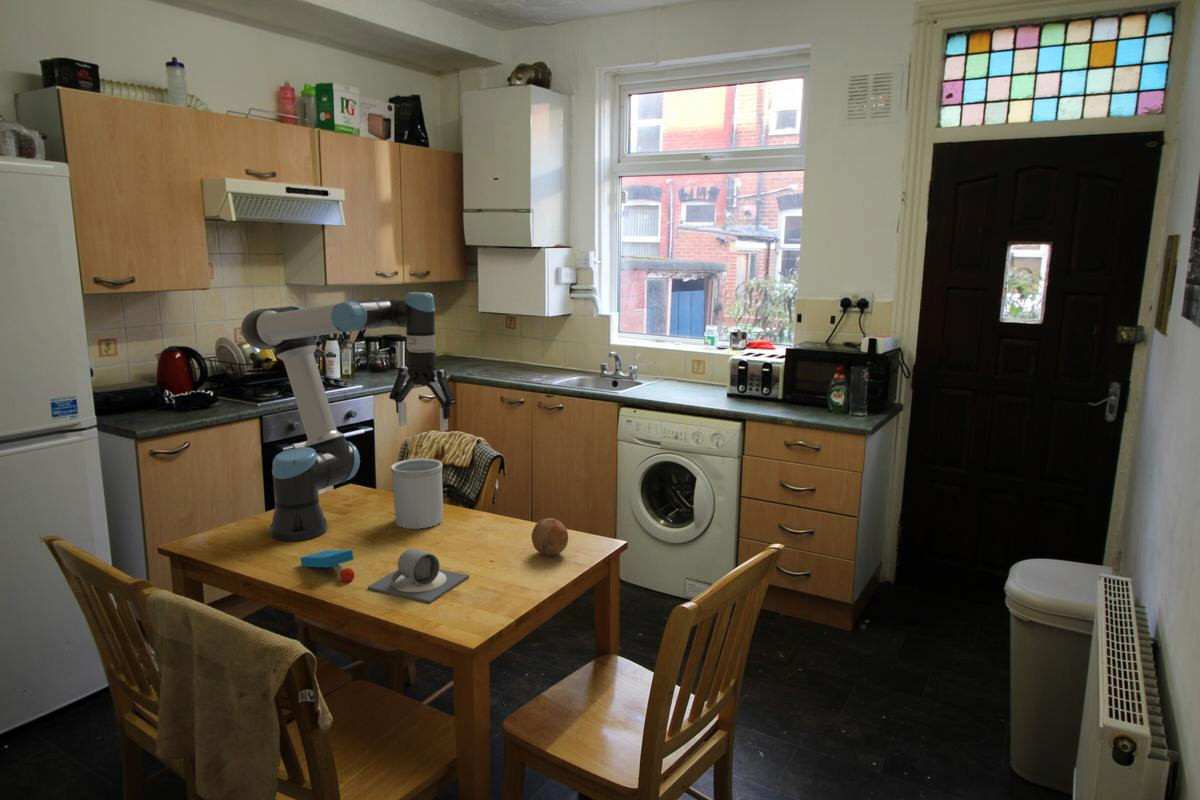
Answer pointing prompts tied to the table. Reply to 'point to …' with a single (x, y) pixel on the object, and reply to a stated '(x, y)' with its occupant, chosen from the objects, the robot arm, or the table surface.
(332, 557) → the lever
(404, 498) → the utensil holder
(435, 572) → the ceramic mug
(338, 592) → the table surface
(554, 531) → the reddish-brown ball
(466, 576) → the mat
